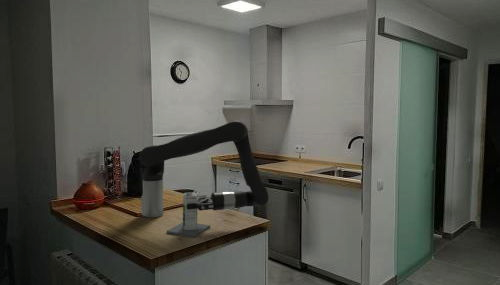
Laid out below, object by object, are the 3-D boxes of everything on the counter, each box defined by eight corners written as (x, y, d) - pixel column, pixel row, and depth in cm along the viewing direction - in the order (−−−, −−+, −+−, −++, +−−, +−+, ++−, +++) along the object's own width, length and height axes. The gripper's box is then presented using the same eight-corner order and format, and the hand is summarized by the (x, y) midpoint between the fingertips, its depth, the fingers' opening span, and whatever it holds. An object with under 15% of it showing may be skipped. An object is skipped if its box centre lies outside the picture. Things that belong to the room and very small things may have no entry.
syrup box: (183, 225, 147) (183, 192, 145) (197, 225, 147) (197, 192, 146) (182, 230, 141) (182, 195, 140) (197, 230, 142) (197, 195, 140)
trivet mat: (166, 233, 141) (166, 230, 141) (184, 223, 153) (184, 221, 153) (193, 238, 136) (193, 235, 136) (210, 227, 148) (210, 225, 148)
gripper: (219, 188, 154) (182, 191, 149) (227, 196, 141) (187, 199, 135) (219, 204, 155) (182, 208, 150) (227, 214, 142) (188, 217, 136)
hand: (185, 203), depth 143 cm, fingers open, 8 cm apart
